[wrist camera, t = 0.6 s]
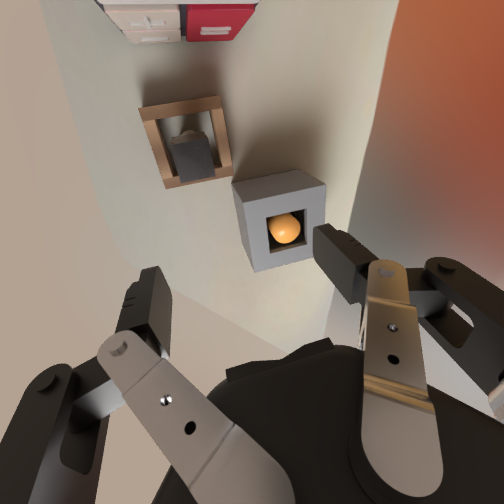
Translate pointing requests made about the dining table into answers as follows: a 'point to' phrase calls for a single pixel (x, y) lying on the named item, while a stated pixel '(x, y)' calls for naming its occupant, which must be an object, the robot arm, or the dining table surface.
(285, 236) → the button
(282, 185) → the guard box
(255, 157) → the dining table surface
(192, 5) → the calculator
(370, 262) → the robot arm
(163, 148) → the wooden square frame
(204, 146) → the stylus
